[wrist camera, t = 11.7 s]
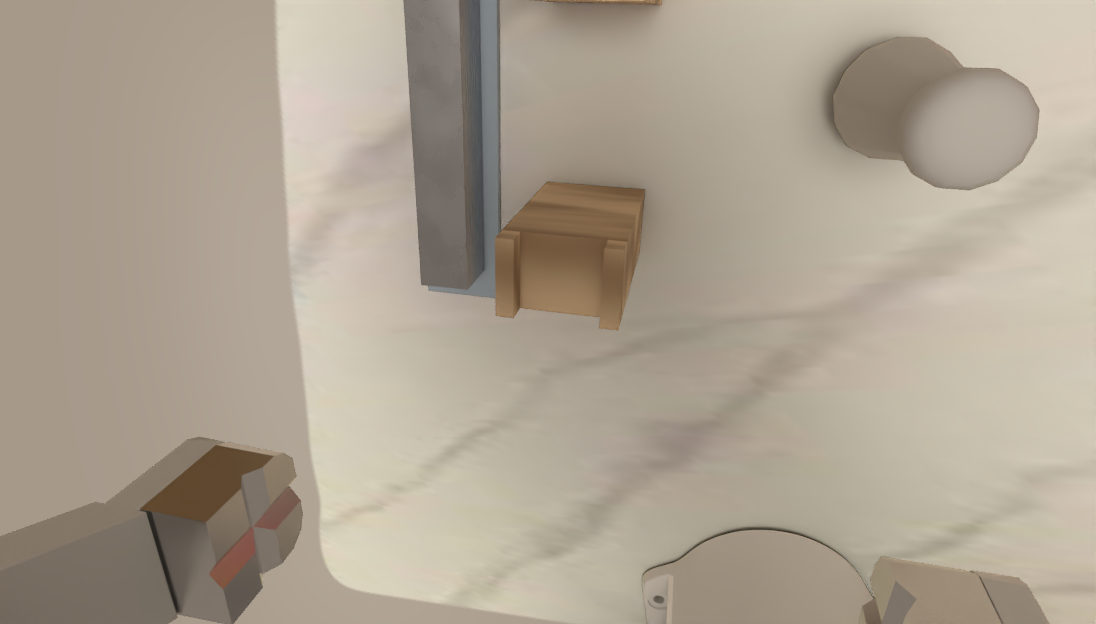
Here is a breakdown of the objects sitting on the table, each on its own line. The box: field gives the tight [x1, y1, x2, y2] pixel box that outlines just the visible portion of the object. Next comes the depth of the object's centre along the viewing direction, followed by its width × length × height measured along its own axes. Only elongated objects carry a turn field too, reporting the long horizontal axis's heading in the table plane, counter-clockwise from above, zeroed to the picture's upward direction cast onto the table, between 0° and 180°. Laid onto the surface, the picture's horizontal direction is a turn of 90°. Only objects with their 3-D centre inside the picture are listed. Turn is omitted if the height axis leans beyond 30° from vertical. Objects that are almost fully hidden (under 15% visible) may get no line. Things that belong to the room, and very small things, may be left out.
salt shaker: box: [833, 37, 1039, 190], centre depth 28 cm, size 6×6×13 cm
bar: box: [404, 0, 485, 290], centre depth 37 cm, size 22×3×4 cm, turn 178°
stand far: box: [495, 182, 645, 330], centre depth 35 cm, size 4×6×11 cm, turn 88°
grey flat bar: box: [428, 0, 501, 298], centre depth 38 cm, size 26×5×1 cm, turn 178°
